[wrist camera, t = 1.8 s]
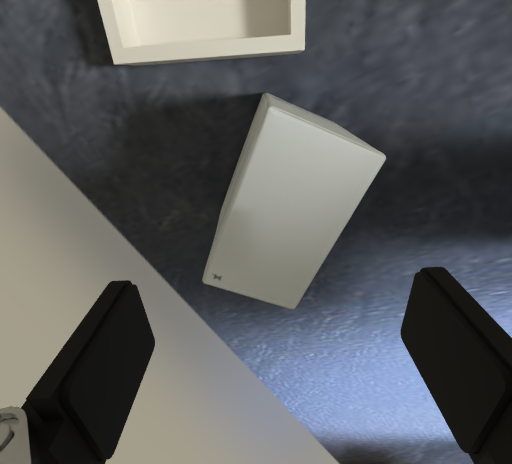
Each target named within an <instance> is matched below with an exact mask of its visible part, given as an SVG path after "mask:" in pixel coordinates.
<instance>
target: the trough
mask: <svg viewBox="0 0 512 464" xmlns="http://www.w3.org/2000/svg"><path fill="white" fill-rule="evenodd" d="M97 1H98V4H99V8H100V12H101V16H102V20H103V24H104V27H105V31H106V35H107V39H108V43H109V47H110V50H111V54H112V58H113V62H114V64H117V65H132V66H141V65H155V64H168V63H181V62H195V61H208V60H222V59H235V58H249V57H262V56H275V55H289V54H299V53H301V52H302V51H304V50H305V0H97Z"/></svg>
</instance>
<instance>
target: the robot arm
mask: <svg viewBox="0 0 512 464" xmlns="http://www.w3.org/2000/svg"><path fill="white" fill-rule="evenodd" d="M401 338H402V340H403V343H404V344H405V346H406V348H407V350H408V352H409V354H410V356H411V357H412V359H413V361H414V363H415V365H416V367H417V369H418V371H419V372H420V374H421V376H422V378H423V380H424V382H425V384H426V385H427V387H428V389H429V391H430V393H431V395H432V397H433V398H434V400H435V402H436V404H437V406H438V408H439V410H440V411H441V413H442V415H443V417H444V419H445V421H446V423H447V425H448V426H449V428H450V430H451V432H452V434H453V436H454V438H455V439H456V441H457V443H458V445H459V446H460V448H461V449H462V450H463V451H464V452H465V453H469V455H470V457H471V459H472V461H473V462H474V464H512V338H511V337H510V336H509V335H508V334H507V333H506V332H505V331H504V330H503V329H502V328H501V327H500V326H499V324H498V323H497V322H496V321H495V320H494V319H493V318H492V317H491V316H490V315H489V314H488V313H487V312H486V311H485V310H484V309H483V308H482V307H481V306H480V305H479V304H478V302H477V301H476V300H475V299H474V298H473V297H472V296H471V295H470V294H469V293H468V292H467V291H466V290H465V289H464V288H463V287H462V286H461V285H460V284H459V283H458V282H457V281H456V279H455V278H454V277H453V276H452V275H451V274H450V273H449V272H448V271H447V270H446V269H445V268H443V267H427V268H422V269H421V270H420V272H418V273H416V274H415V277H414V281H413V285H412V288H411V292H410V296H409V300H408V304H407V308H406V312H405V315H404V319H403V323H402V327H401ZM154 346H155V339H154V336H153V333H152V330H151V327H150V324H149V321H148V318H147V315H146V312H145V309H144V306H143V303H142V300H141V297H140V294H139V291H138V288H137V286H136V285H132V283H131V282H130V281H112V282H110V283H109V284H108V285H107V287H106V288H105V290H104V291H103V292H102V294H101V295H100V296H99V298H98V299H97V301H96V302H95V303H94V305H93V306H92V308H91V309H90V310H89V312H88V313H87V315H86V316H85V317H84V319H83V320H82V322H81V323H80V324H79V326H78V327H77V329H76V330H75V331H74V333H73V334H72V335H71V337H70V338H69V340H68V341H67V342H66V344H65V345H64V346H63V348H62V350H61V351H60V352H59V353H58V355H57V356H56V358H55V359H54V360H53V362H52V363H51V365H50V366H49V367H48V369H47V370H46V372H45V373H44V374H43V376H42V377H41V378H40V380H39V381H38V383H37V384H36V386H35V387H34V388H33V390H32V391H31V392H30V394H29V395H28V397H27V398H26V402H25V403H24V404H23V406H22V407H21V408H19V407H7V408H2V409H0V464H105V462H106V459H110V458H111V457H112V455H113V454H114V451H115V449H116V446H117V444H118V441H119V438H120V436H121V433H122V431H123V428H124V425H125V423H126V420H127V418H128V415H129V413H130V410H131V407H132V405H133V402H134V400H135V397H136V394H137V392H138V389H139V387H140V383H141V381H142V379H143V376H144V374H145V371H146V368H147V365H148V363H149V360H150V358H151V355H152V352H153V350H154Z"/></svg>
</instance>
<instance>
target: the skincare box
mask: <svg viewBox="0 0 512 464" xmlns="http://www.w3.org/2000/svg"><path fill="white" fill-rule="evenodd" d="M385 160H386V156H385V155H384V154H383V153H381V152H380V151H378V150H376V149H375V148H373V147H372V146H370V145H368V144H367V143H365V142H364V141H362V140H361V139H359V138H358V137H356V136H354V135H353V134H351V133H350V132H348V131H347V130H345V129H344V128H342V127H341V126H339V125H337V124H336V123H334V122H332V121H330V120H328V119H326V118H323V117H321V116H318V115H316V114H314V113H311V112H309V111H307V110H304V109H302V108H300V107H298V106H295V105H293V104H291V103H288V102H286V101H284V100H282V99H280V98H278V97H276V96H273V95H271V94H269V93H263V94H262V98H261V100H260V103H259V105H258V108H257V111H256V113H255V116H254V119H253V121H252V124H251V127H250V130H249V132H248V135H247V138H246V141H245V143H244V146H243V149H242V152H241V155H240V157H239V160H238V163H237V166H236V169H235V171H234V174H233V177H232V180H231V183H230V186H229V188H228V191H227V194H226V197H225V200H224V203H223V206H222V208H221V212H220V216H219V221H218V226H217V230H216V234H215V237H214V241H213V244H212V248H211V251H210V254H209V258H208V261H207V264H206V267H205V271H204V275H203V279H202V281H203V283H205V284H208V285H211V286H215V287H218V288H221V289H225V290H228V291H231V292H235V293H238V294H242V295H245V296H248V297H252V298H255V299H258V300H261V301H265V302H268V303H271V304H275V305H278V306H282V307H286V308H289V309H295V308H296V306H297V305H298V303H299V301H300V300H301V298H302V296H303V295H304V293H305V291H306V290H307V288H308V286H309V285H310V283H311V282H312V280H313V278H314V277H315V275H316V273H317V271H318V270H319V268H320V267H321V265H322V263H323V262H324V260H325V258H326V257H327V255H328V253H329V252H330V250H331V249H332V247H333V245H334V244H335V242H336V240H337V239H338V237H339V235H340V234H341V232H342V231H343V229H344V227H345V226H346V224H347V222H348V221H349V219H350V217H351V216H352V214H353V212H354V211H355V209H356V207H357V206H358V204H359V202H360V201H361V199H362V197H363V196H364V194H365V192H366V191H367V189H368V188H369V186H370V184H371V183H372V181H373V179H374V178H375V176H376V175H377V173H378V171H379V170H380V168H381V166H382V165H383V163H384V161H385Z"/></svg>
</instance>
